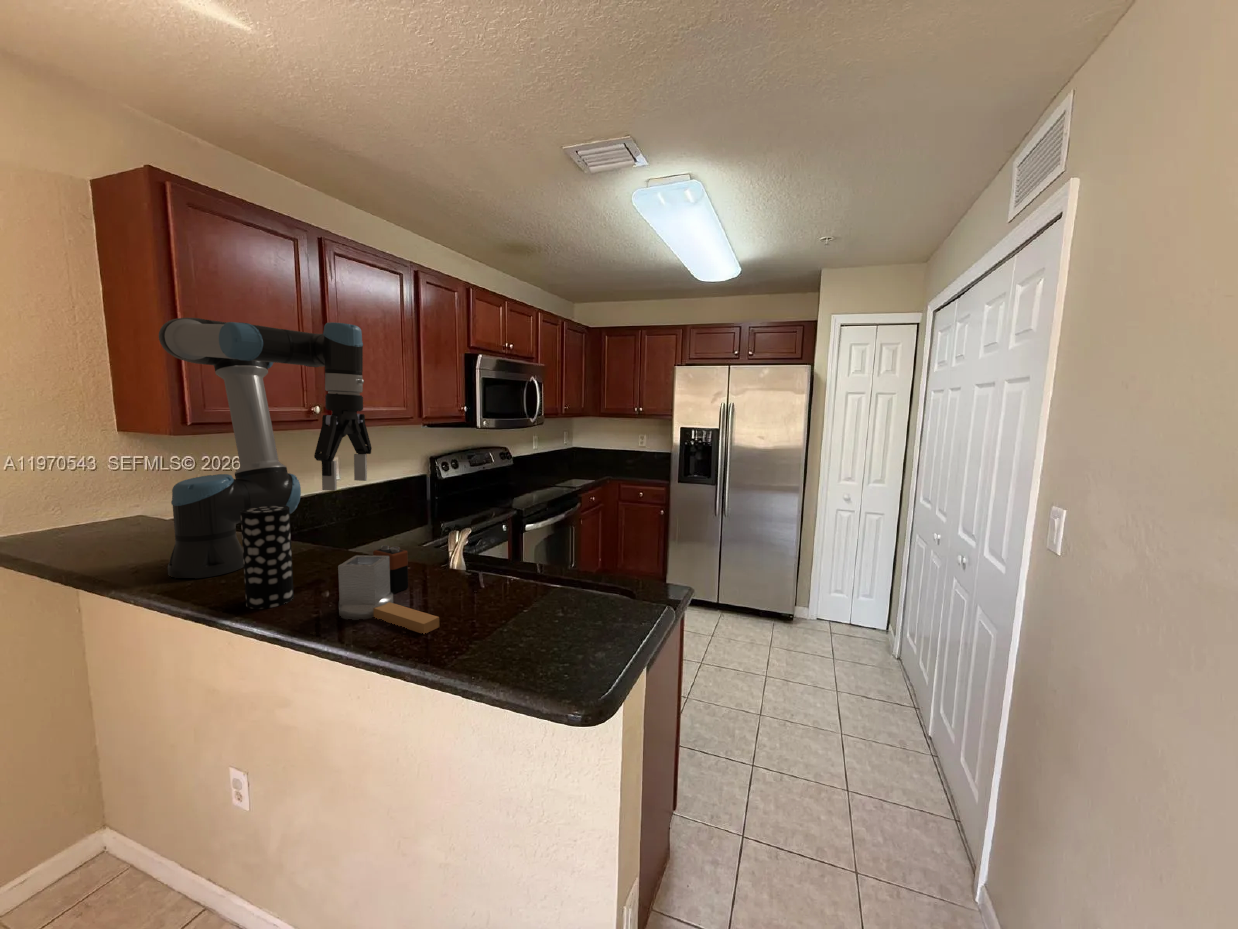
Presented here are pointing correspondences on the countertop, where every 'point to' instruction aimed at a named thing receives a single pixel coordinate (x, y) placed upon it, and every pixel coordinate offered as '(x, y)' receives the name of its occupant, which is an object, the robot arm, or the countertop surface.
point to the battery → (396, 567)
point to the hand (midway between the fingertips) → (346, 485)
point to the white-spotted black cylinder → (267, 556)
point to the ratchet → (391, 614)
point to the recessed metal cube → (364, 580)
